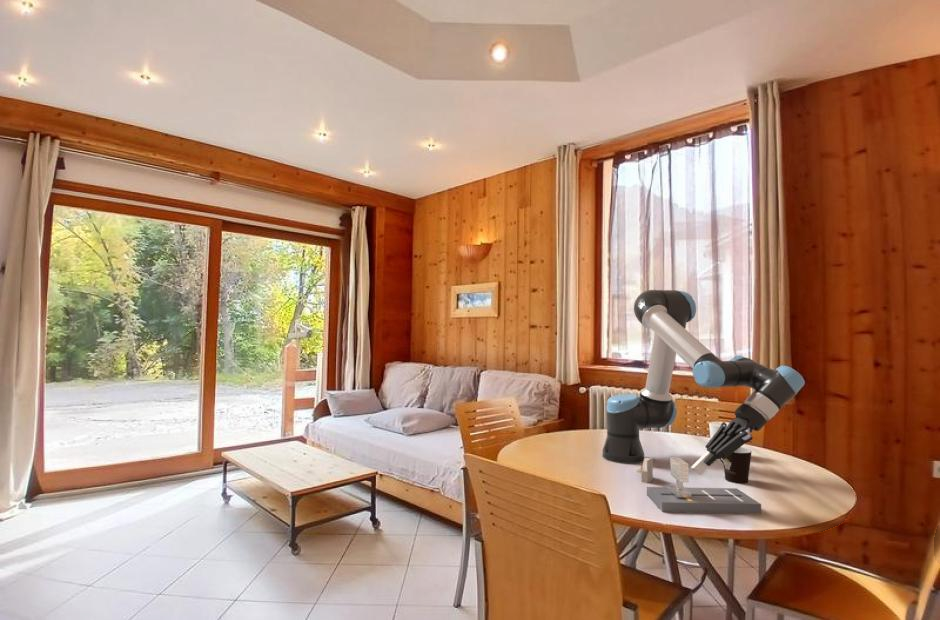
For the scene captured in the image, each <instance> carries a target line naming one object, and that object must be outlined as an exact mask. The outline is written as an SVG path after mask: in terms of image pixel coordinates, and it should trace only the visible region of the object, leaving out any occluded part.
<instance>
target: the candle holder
mask: <svg viewBox="0 0 940 620" xmlns="http://www.w3.org/2000/svg"><path fill="white" fill-rule="evenodd" d="M723 422H725V423H726V424H729V423H730V422H726V421H710V422H708V425H709V426H708V428H709V441H710V440H711V438H712V437H713V436H714V434H715V433H716V432H717V431H718V429H719V428H720V426H721V424H722V423H723Z"/></svg>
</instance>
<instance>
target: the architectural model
mask: <svg viewBox="0 0 940 620" xmlns="http://www.w3.org/2000/svg"><path fill="white" fill-rule="evenodd" d="M653 459H654V457H653V456H651V457H644V461H642V466H641V467H640V468H638V469H637V470H636V473H641V477H640V478H641V483H645V484H648V483H650V482H651V481H652V480H653V479H654V477H653V476H654V475H653V474H654V473H653V472H654V469H653V462H654V461H653Z"/></svg>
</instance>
